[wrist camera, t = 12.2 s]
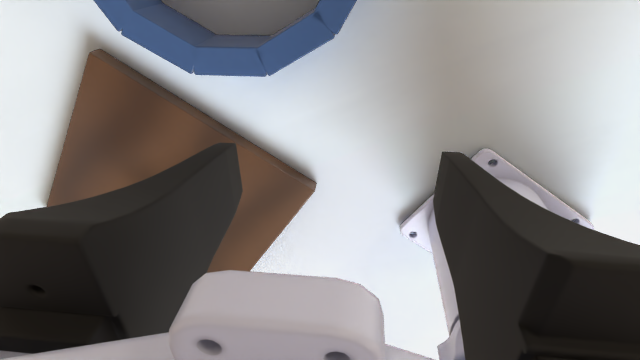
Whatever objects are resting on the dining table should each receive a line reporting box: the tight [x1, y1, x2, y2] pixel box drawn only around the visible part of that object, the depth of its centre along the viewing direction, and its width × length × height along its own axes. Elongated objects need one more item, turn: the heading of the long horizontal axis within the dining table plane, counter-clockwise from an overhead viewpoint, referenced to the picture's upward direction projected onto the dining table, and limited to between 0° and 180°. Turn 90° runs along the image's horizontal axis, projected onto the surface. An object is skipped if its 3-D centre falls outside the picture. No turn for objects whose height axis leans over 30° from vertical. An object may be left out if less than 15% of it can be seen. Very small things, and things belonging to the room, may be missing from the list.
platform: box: [47, 49, 317, 273], centre depth 25 cm, size 15×15×4 cm
